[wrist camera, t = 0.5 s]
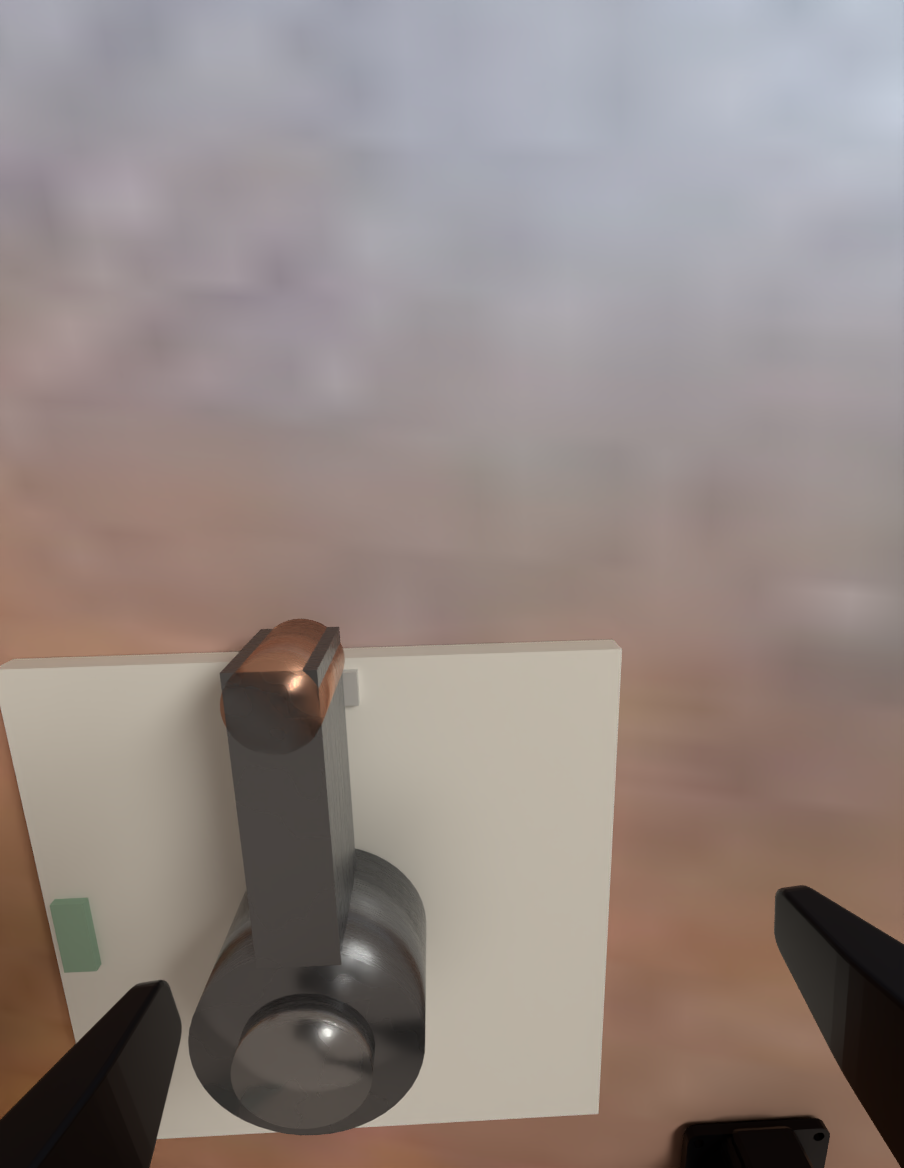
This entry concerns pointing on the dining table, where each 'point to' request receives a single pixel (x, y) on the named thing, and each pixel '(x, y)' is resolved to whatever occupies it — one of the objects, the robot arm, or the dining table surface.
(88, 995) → the plate
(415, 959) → the lever
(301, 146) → the dining table surface
